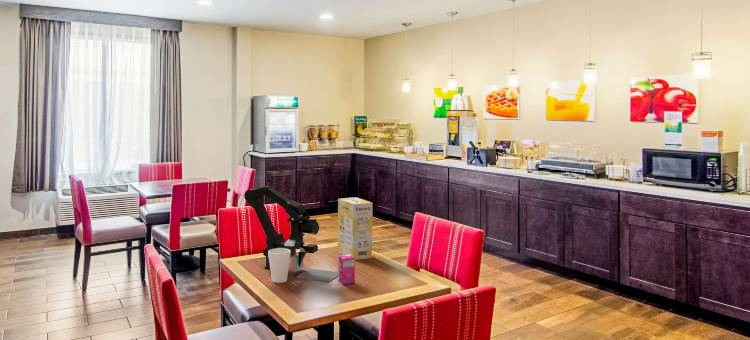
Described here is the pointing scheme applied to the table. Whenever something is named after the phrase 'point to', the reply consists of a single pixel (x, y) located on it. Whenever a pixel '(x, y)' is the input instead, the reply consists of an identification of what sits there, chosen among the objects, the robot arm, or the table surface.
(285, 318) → the table surface
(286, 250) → the foam cup
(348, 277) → the supplement box
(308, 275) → the mat
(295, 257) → the tile
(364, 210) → the pasta box
